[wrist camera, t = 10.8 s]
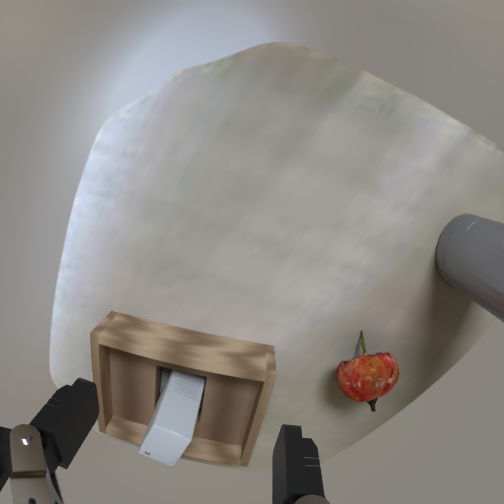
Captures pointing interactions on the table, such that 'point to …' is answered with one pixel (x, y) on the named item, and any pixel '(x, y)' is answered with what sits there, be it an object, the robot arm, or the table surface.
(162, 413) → the skincare box
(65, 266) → the table surface
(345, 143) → the table surface
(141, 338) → the crate
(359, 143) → the table surface
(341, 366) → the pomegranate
